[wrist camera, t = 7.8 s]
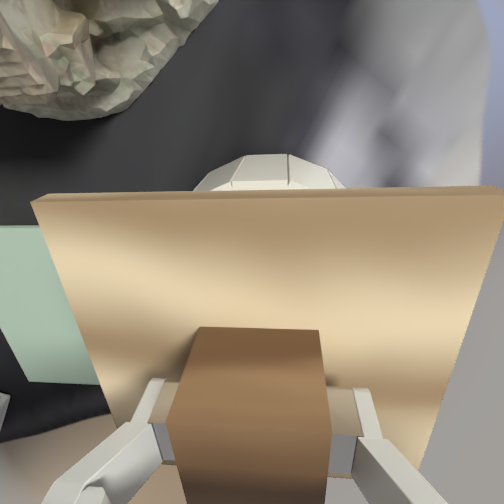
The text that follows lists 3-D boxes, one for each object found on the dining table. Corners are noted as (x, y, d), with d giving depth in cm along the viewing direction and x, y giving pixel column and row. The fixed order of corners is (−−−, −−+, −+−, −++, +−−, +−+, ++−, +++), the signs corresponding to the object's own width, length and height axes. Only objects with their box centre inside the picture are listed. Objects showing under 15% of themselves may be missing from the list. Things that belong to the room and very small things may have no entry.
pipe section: (193, 314, 24) (167, 380, 18) (167, 155, 18) (119, 183, 13) (352, 318, 23) (373, 389, 17) (374, 149, 17) (413, 177, 12)
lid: (48, 193, 10) (-99, 259, 6) (493, 185, 9) (658, 264, 5) (137, 444, 16) (90, 557, 12) (407, 464, 15) (450, 598, 11)
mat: (31, 377, 29) (28, 381, 29) (-47, 226, 22) (-53, 228, 22) (191, 385, 27) (190, 389, 27) (160, 224, 20) (158, 226, 20)
